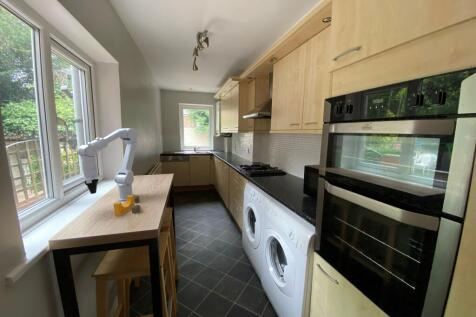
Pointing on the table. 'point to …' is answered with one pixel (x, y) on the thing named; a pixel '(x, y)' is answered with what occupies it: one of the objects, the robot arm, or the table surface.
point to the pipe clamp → (123, 206)
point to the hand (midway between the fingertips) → (93, 193)
